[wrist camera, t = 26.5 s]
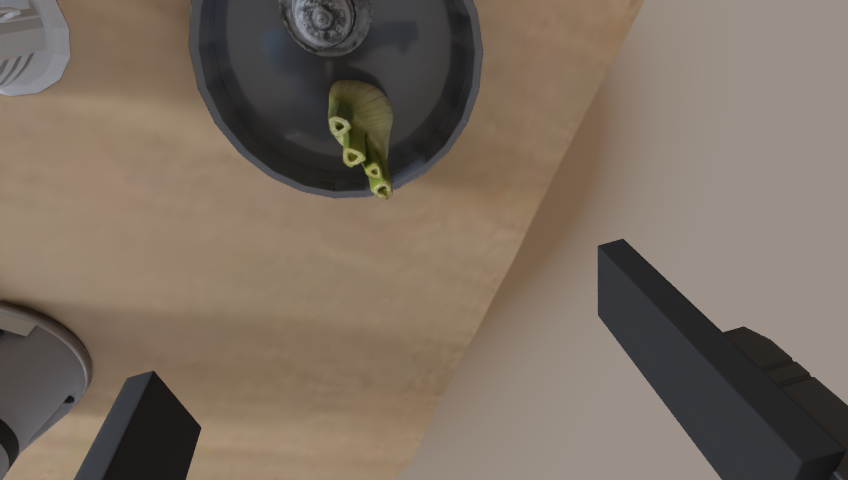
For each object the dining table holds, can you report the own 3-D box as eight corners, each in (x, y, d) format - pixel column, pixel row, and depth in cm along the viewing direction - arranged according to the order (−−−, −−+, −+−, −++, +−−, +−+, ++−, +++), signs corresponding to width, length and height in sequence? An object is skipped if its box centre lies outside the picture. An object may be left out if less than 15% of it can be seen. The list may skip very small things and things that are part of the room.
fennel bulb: (322, 73, 33) (314, 117, 23) (387, 68, 34) (407, 109, 24) (334, 146, 36) (331, 214, 26) (393, 141, 37) (413, 205, 27)
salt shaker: (300, 57, 32) (282, 95, 22) (271, -35, 29) (234, -39, 19) (378, 39, 33) (395, 69, 22) (357, -54, 29) (366, -68, 19)
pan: (272, 200, 38) (265, 225, 35) (152, -58, 28) (123, -63, 24) (482, 142, 39) (498, 161, 35) (440, -134, 28) (455, -150, 25)
